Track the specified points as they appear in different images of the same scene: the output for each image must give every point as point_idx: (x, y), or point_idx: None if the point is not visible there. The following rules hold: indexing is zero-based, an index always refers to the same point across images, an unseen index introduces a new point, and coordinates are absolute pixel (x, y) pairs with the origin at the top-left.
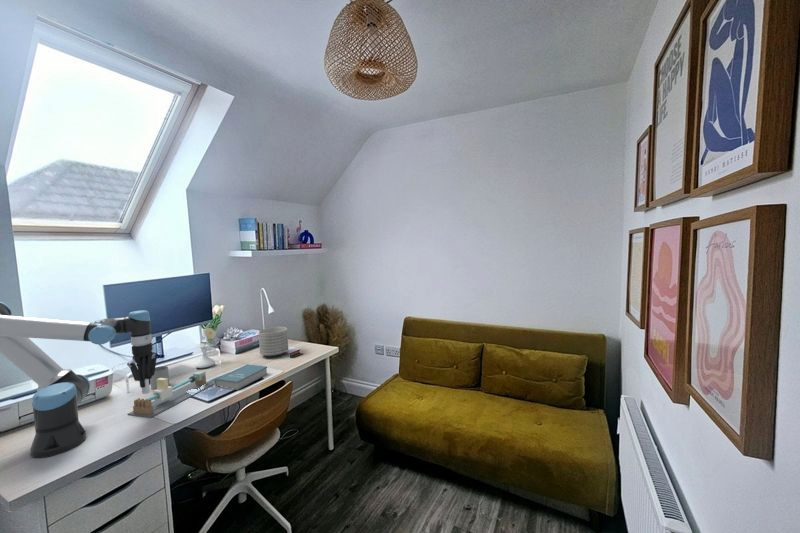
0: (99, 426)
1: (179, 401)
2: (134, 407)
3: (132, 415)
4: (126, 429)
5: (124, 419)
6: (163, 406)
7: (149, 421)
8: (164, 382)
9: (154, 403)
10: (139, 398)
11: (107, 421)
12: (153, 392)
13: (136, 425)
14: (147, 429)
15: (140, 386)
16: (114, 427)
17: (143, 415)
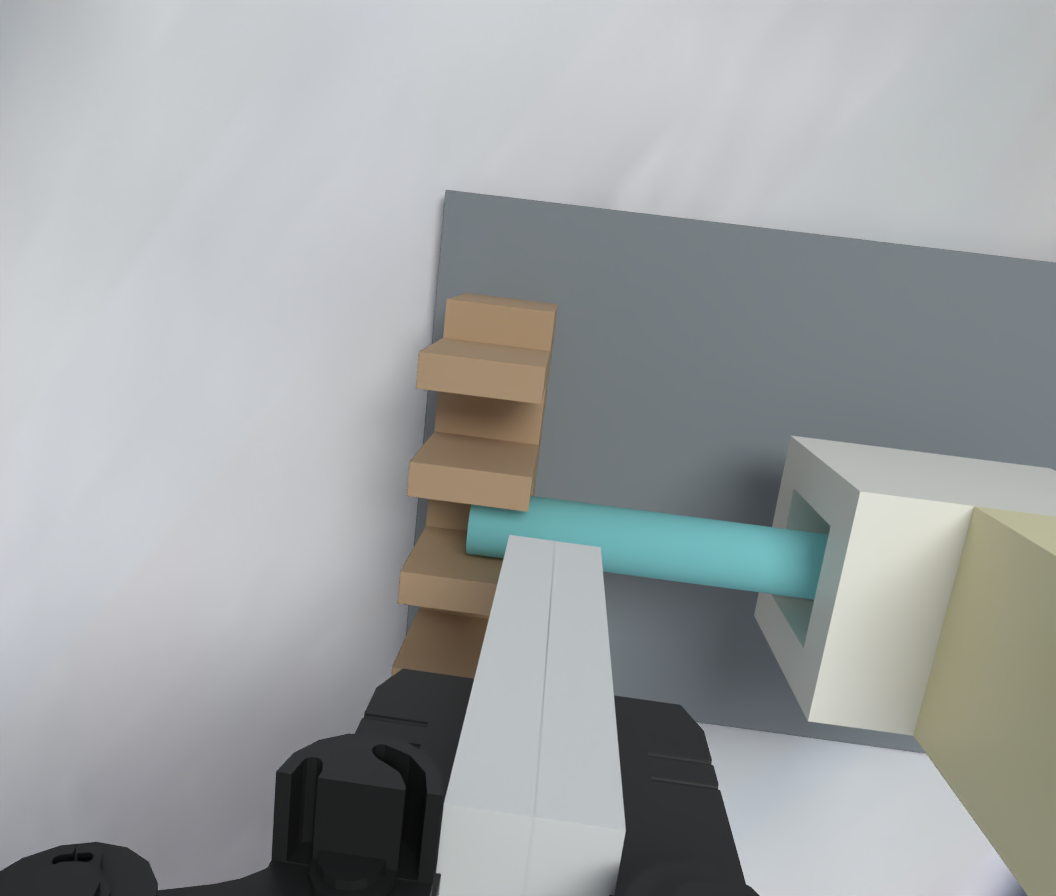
0: (72, 58)
1: (896, 743)
2: (445, 338)
3: (439, 303)
4: (98, 583)
5: (317, 282)
6: (718, 615)
7: (321, 720)
8: (1038, 883)
9: (833, 356)
10: (534, 389)
11: (219, 29)
12: (843, 486)
13: (205, 631)
14: (154, 848)
15: (371, 711)
16: (101, 354)
17: (420, 533)
